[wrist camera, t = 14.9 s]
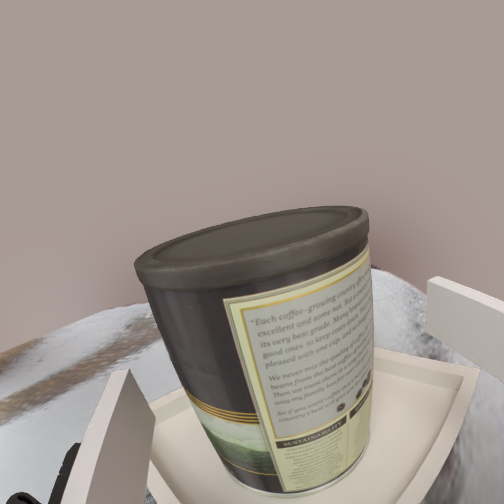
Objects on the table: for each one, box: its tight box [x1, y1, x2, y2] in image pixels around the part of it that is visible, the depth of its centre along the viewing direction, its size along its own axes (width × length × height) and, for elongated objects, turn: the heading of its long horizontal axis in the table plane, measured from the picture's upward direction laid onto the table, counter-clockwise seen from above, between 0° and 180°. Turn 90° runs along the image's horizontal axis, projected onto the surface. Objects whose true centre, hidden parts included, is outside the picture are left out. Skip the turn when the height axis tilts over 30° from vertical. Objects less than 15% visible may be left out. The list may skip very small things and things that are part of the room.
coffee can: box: [134, 206, 374, 498], centre depth 14 cm, size 10×10×14 cm
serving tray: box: [147, 347, 481, 504], centre depth 15 cm, size 20×20×2 cm
